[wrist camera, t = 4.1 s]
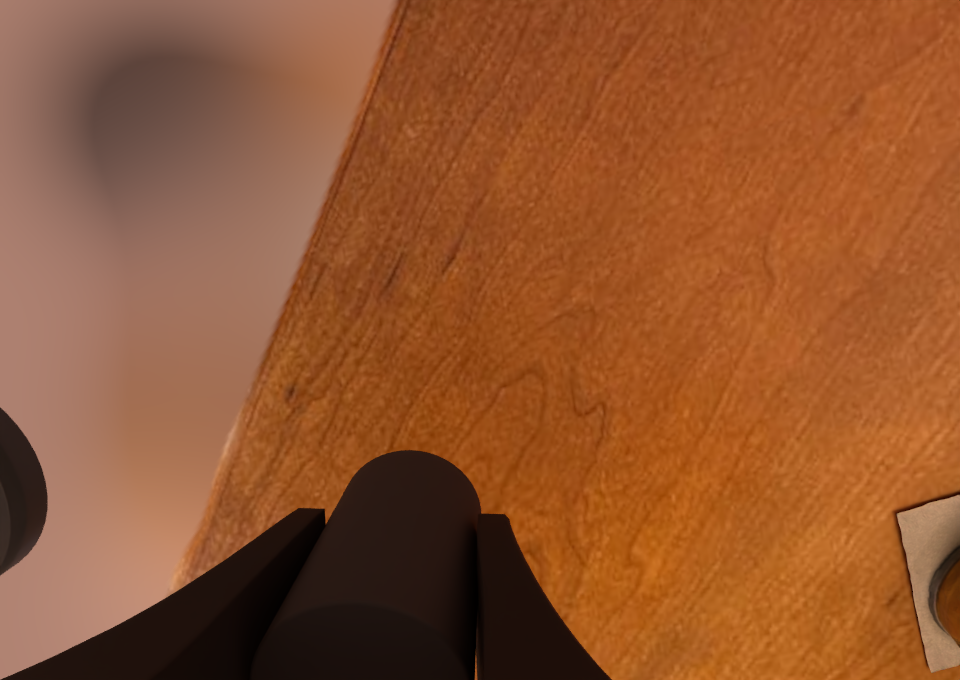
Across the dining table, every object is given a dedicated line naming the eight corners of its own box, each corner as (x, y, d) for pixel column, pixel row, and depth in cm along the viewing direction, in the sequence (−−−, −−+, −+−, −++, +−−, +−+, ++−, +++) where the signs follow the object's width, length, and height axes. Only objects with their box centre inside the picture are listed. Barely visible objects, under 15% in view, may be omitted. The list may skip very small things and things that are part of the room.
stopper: (316, 521, 13) (205, 707, 8) (397, 422, 12) (330, 559, 7) (426, 595, 13) (385, 816, 8) (509, 504, 12) (520, 687, 7)
